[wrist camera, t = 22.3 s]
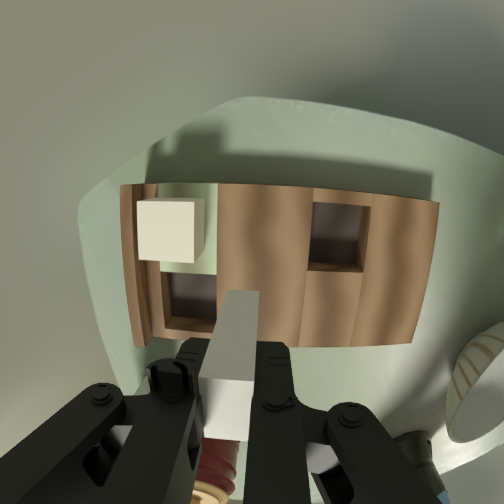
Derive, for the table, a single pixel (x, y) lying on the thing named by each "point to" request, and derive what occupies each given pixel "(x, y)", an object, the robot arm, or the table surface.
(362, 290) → the board
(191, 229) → the block
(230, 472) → the canister
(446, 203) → the table surface
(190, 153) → the table surface
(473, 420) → the decorative bowl
